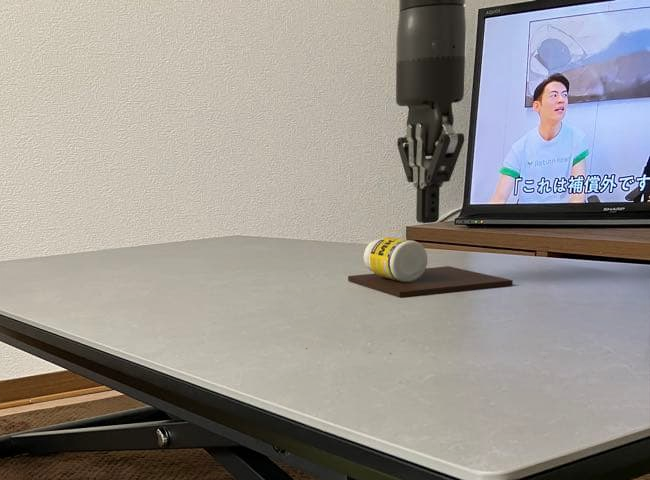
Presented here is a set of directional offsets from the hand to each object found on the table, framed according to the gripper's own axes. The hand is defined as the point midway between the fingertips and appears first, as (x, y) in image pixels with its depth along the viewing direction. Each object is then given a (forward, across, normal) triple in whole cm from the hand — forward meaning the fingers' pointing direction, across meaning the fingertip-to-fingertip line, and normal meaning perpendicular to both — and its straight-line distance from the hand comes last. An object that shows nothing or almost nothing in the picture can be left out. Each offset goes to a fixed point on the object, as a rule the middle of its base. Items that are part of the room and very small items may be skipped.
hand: (427, 222), depth 106 cm
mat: (+7, 0, 0) cm, 7 cm away
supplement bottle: (+4, -3, +3) cm, 6 cm away
